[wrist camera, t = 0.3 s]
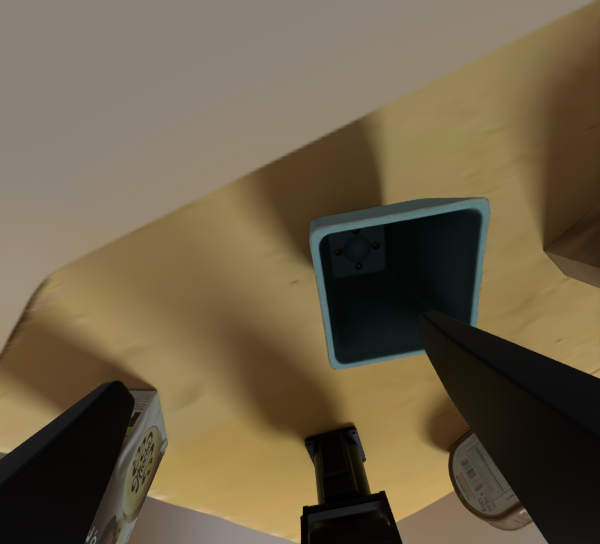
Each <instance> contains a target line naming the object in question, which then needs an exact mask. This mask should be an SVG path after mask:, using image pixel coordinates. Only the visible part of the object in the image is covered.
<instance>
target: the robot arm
mask: <svg viewBox="0 0 600 544" xmlns="http://www.w3.org/2000/svg"><path fill="white" fill-rule="evenodd" d="M419 339H420V342H421V344H422V346H423V348H424V350H425V352H426V354H427V356H428V358H429V359H430V361H431V363H432V365H433V367H434V369H435V371H436V373H437V375H438V376H439V378H440V380H441V382H442V384H443V386H444V388H445V389H446V391H447V393H448V394H449V396H450V398H451V399H452V401H453V402H454V404H455V405H456V407H457V408H458V410H459V411H460V413H461V414H462V416H463V417H464V419H465V420H466V422H467V423H468V425H469V426H470V428H471V429H472V431H473V432H474V434H475V435H476V437H477V438H478V440H479V441H480V443H481V444H482V446H483V447H484V449H485V450H486V452H487V453H488V455H489V456H490V457H491V459H492V460H493V462H494V463H495V465H496V466H497V468H498V469H499V471H500V472H501V474H502V475H503V477H504V478H505V480H506V481H507V483H508V484H509V486H510V487H511V489H512V490H513V492H514V493H515V495H516V496H517V498H518V499H519V501H520V502H521V504H522V505H523V507H524V508H525V510H526V511H527V513H528V514H529V516H530V517H531V519H532V520H533V522H534V523H535V525H536V526H537V528H538V529H539V531H540V532H541V533H542V535H543V537H544V538H545V539H546V541H547V542H548V544H600V378H597V377H595V376H592V375H590V374H587V373H585V372H583V371H580V370H578V369H575V368H573V367H570V366H568V365H566V364H563V363H561V362H558V361H556V360H553V359H551V358H549V357H546V356H544V355H541V354H539V353H536V352H534V351H532V350H529V349H527V348H524V347H522V346H519V345H517V344H515V343H512V342H510V341H507V340H505V339H502V338H500V337H498V336H495V335H493V334H490V333H488V332H485V331H483V330H481V329H478V328H476V327H473V326H471V325H468V324H466V323H464V322H461V321H459V320H456V319H454V318H451V317H449V316H447V315H444V314H442V313H439V312H437V311H429V312H424V313H421V314H420V315H419ZM134 406H135V399H134V397H133V395H132V394H131V393H130V391H129V390H128V389H127V387H126V386H125V385H124V384H123V382H121V381H119V380H115V381H110V382H106V383H103V384H102V385H100V386H99V387H98V388H96V389H95V390H93V391H92V392H91V393H89V394H88V395H87V396H85V397H84V398H83V399H81V400H80V401H79V402H77V403H76V404H75V405H73V406H72V407H71V408H69V409H68V410H66V411H65V412H64V413H62V414H61V415H60V416H58V417H57V418H56V419H54V420H53V421H52V422H50V423H49V424H48V425H46V426H45V427H44V428H42V429H41V430H39V431H38V432H37V433H35V434H34V435H33V436H31V437H30V438H29V439H27V440H26V441H25V442H23V443H22V444H21V445H19V446H18V447H17V448H15V449H14V450H12V451H11V452H10V453H8V454H7V455H6V456H4V457H3V458H2V459H0V544H85V542H86V539H87V537H88V534H89V532H90V529H91V527H92V524H93V522H94V519H95V517H96V514H97V512H98V509H99V507H100V504H101V502H102V499H103V497H104V494H105V492H106V489H107V487H108V484H109V482H110V479H111V477H112V474H113V472H114V469H115V466H116V464H117V461H118V458H119V455H120V452H121V448H122V445H123V442H124V439H125V435H126V432H127V429H128V426H129V422H130V419H131V416H132V413H133V409H134ZM305 446H306V448H307V451H308V453H309V455H310V457H311V459H312V462H313V464H314V466H315V475H316V485H317V495H318V505H313V506H308V505H307V506H303V515H302V516H301V517H300V519H301V544H402V541H401V538H400V535H399V531H398V529H397V526H396V523H395V520H394V517H393V514H392V511H391V508H390V505H389V502H388V499H387V496H386V493H385V491H379V492H380V493H375V494H371V492H370V488H369V484H368V480H367V476H366V473H365V469H364V465H363V462H365V461H366V458H365V454H364V451H363V448H362V445H361V442H360V438H359V435H358V432H357V429H356V428H355V427H350V428H346V429H342V430H338V431H334V432H330V433H326V434H322V435H318V436H315V437H311V438H307V439H305Z"/></svg>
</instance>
